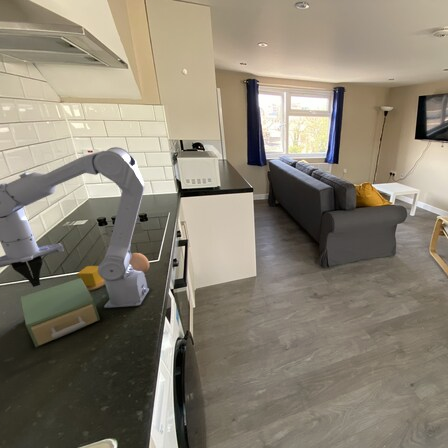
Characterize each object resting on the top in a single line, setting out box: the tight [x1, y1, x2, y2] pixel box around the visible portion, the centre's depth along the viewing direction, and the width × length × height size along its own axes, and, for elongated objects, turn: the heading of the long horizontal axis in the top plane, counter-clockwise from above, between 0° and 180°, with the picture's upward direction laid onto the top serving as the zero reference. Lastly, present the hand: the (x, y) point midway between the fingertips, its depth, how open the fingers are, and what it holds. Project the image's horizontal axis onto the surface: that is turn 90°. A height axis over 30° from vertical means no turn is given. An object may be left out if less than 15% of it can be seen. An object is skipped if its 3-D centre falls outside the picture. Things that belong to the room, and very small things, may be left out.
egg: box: [129, 252, 150, 275], centre depth 89 cm, size 7×7×8 cm
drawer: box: [31, 304, 98, 346], centre depth 67 cm, size 18×11×5 cm, turn 48°
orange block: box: [76, 265, 103, 286], centre depth 85 cm, size 5×5×5 cm
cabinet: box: [19, 278, 101, 348], centre depth 69 cm, size 15×13×7 cm
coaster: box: [86, 279, 106, 292], centre depth 85 cm, size 9×9×1 cm
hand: (36, 284), depth 69 cm, fingers closed
